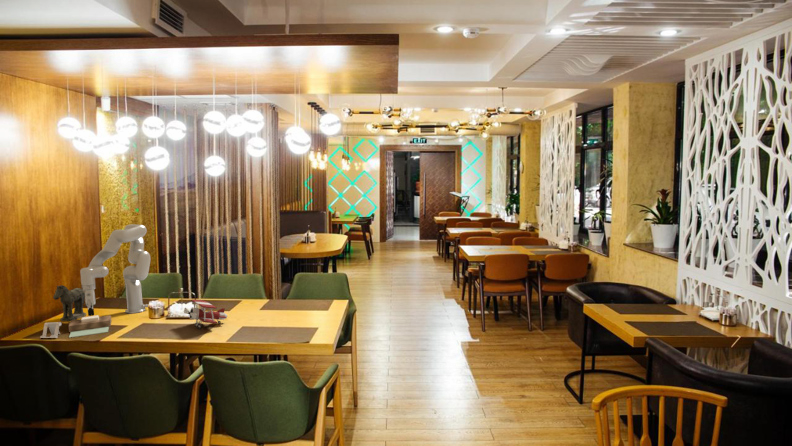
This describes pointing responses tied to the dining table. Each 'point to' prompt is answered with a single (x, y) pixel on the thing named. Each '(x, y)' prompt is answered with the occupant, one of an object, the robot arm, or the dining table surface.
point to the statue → (70, 302)
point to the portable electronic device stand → (51, 329)
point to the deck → (90, 324)
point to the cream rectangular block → (90, 319)
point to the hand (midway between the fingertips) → (91, 315)
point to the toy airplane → (205, 313)
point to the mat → (89, 332)
